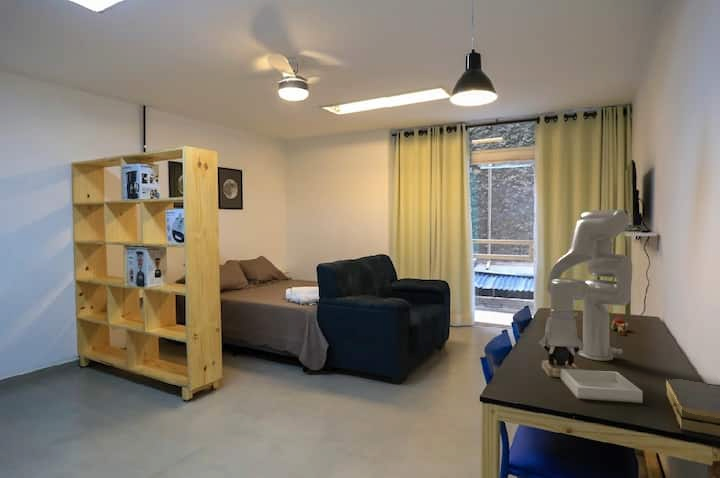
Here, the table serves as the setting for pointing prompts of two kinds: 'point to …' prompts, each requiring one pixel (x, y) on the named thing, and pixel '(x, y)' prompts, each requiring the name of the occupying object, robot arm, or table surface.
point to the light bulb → (561, 356)
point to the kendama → (619, 326)
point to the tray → (600, 385)
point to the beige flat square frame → (555, 368)
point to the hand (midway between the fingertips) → (560, 364)
